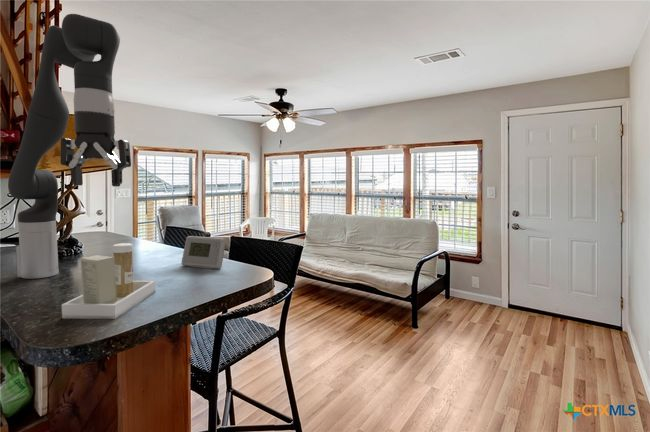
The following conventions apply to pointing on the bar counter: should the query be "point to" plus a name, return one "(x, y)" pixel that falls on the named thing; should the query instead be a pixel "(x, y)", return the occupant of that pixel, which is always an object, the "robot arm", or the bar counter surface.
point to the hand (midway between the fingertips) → (97, 185)
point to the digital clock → (203, 252)
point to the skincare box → (98, 279)
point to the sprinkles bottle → (123, 269)
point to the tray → (108, 311)
